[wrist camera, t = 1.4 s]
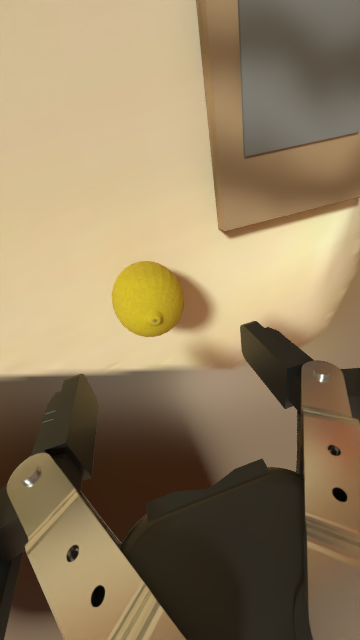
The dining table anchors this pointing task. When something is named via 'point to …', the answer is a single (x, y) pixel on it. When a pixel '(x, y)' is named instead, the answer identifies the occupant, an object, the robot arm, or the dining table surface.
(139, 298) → the lemon
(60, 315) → the dining table surface
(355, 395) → the robot arm
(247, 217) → the serving board
